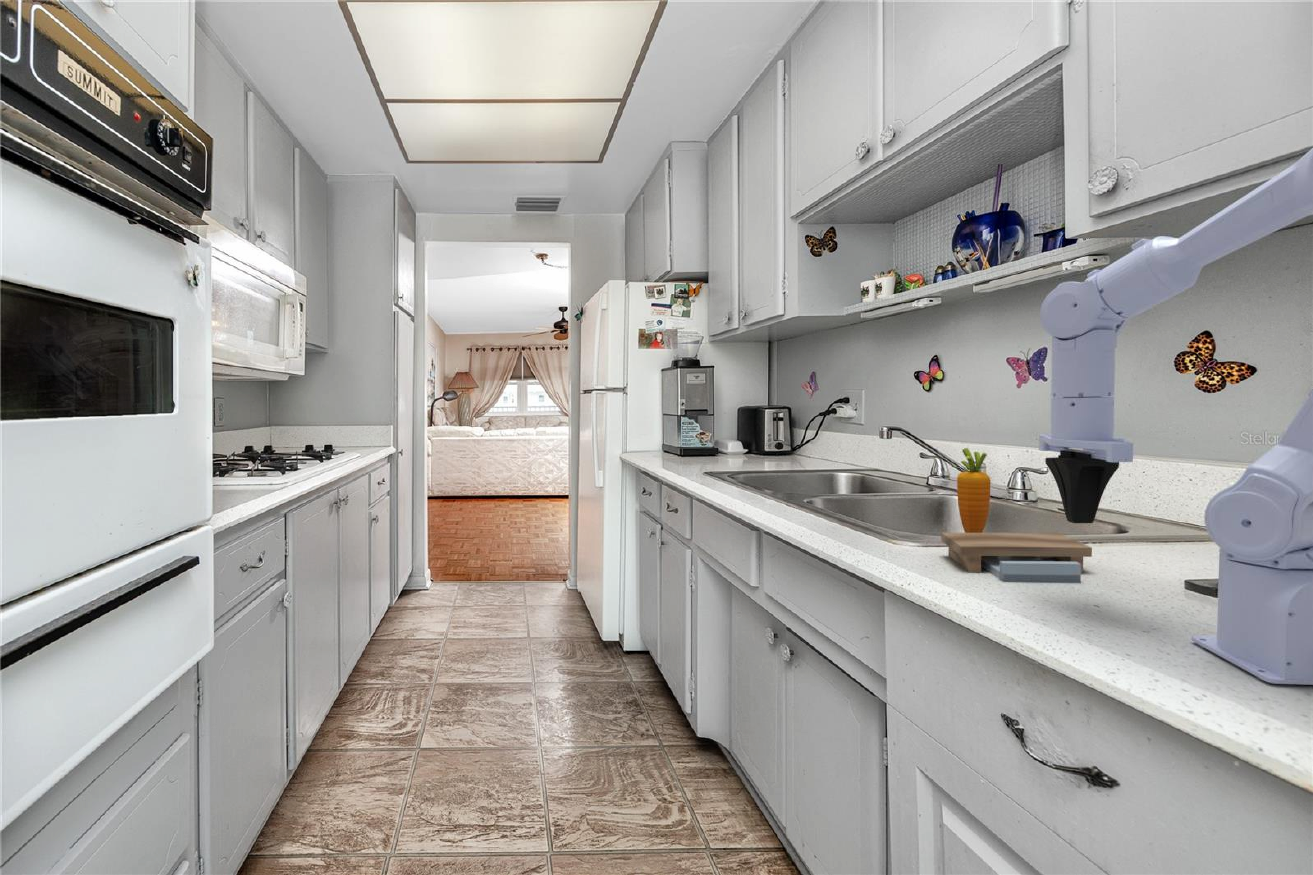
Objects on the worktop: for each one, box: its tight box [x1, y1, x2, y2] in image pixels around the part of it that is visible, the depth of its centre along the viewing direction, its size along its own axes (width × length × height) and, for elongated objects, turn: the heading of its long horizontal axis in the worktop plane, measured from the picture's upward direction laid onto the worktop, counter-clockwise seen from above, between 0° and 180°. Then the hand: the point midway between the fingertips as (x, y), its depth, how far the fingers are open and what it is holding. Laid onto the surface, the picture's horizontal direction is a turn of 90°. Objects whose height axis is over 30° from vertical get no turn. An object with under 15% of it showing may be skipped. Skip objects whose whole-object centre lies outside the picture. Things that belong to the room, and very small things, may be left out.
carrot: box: [956, 447, 991, 533], centre depth 103 cm, size 5×5×15 cm
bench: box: [940, 532, 1093, 574], centre depth 90 cm, size 9×16×3 cm, turn 82°
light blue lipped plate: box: [981, 556, 1082, 584], centre depth 87 cm, size 11×9×3 cm
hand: (1080, 522), depth 72 cm, fingers closed
